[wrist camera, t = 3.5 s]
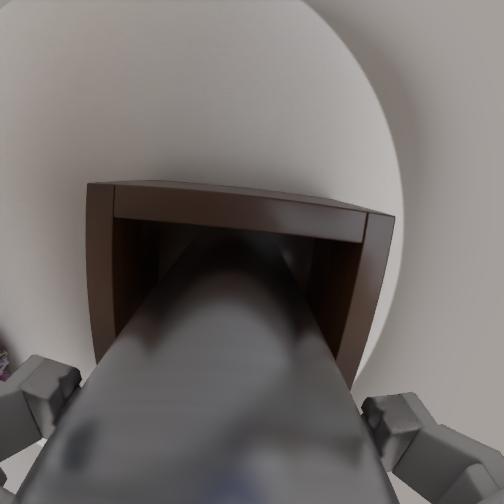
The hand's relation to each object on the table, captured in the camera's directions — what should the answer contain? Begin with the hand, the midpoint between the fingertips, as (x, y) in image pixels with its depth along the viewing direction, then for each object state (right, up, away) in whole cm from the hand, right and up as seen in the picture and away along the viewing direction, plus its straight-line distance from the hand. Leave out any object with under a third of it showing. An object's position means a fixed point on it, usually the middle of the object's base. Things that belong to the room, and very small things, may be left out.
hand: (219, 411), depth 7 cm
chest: (-1, +1, +12) cm, 13 cm away
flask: (0, +3, +11) cm, 11 cm away
